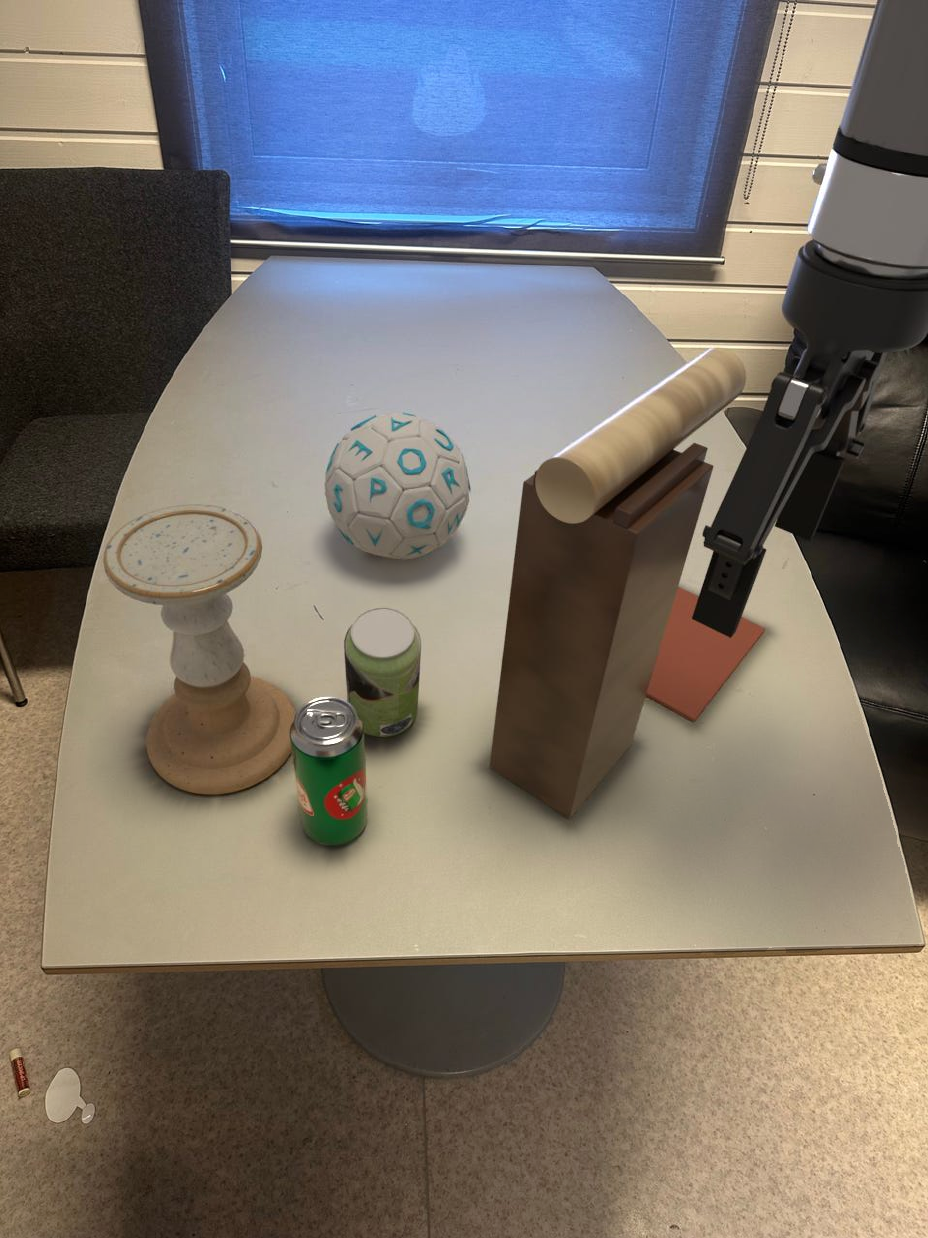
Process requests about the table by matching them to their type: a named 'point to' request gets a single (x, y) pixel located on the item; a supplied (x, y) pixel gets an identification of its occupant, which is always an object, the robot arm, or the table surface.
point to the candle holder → (203, 648)
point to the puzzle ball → (397, 486)
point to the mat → (696, 658)
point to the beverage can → (383, 670)
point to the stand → (590, 628)
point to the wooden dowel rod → (637, 436)
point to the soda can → (330, 770)
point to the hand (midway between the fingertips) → (756, 575)
